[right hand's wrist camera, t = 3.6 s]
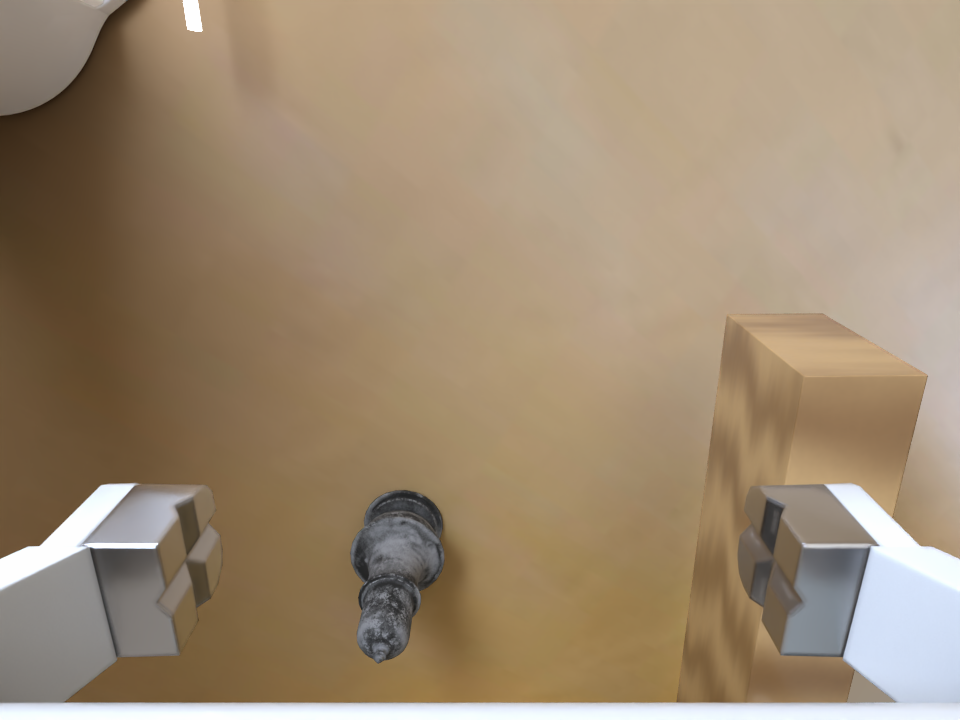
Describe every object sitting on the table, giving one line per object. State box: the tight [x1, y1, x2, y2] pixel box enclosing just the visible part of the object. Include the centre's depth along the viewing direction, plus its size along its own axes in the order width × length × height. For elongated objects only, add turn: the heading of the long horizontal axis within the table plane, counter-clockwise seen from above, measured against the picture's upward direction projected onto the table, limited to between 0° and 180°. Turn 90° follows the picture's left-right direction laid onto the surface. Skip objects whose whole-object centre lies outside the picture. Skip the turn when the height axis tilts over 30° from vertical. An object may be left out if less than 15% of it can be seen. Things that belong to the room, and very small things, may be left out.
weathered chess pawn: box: [350, 490, 444, 663], centre depth 40 cm, size 6×6×12 cm
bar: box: [677, 314, 928, 703], centre depth 34 cm, size 27×5×8 cm, turn 0°
